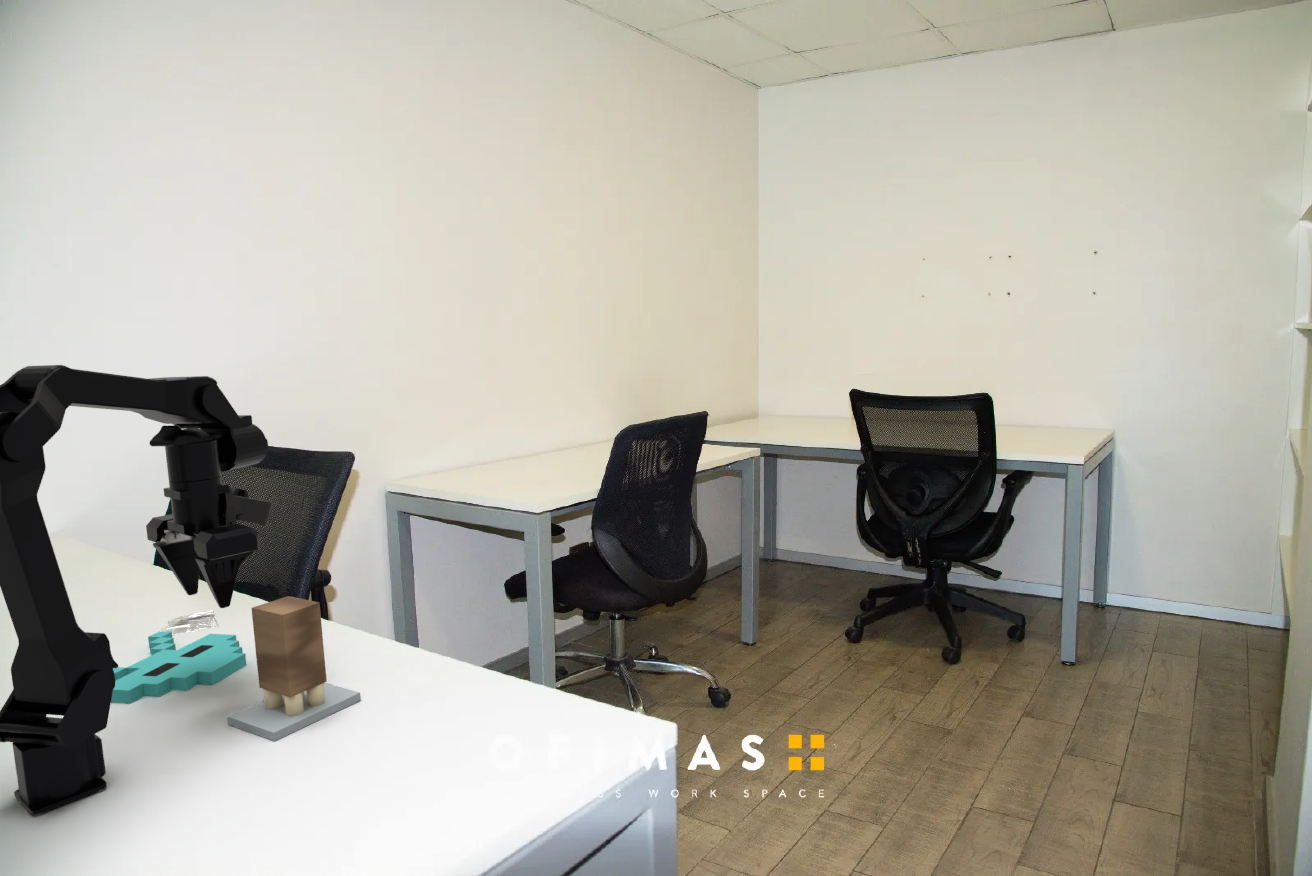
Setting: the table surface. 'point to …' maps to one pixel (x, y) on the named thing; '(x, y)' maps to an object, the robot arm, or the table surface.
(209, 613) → the crumpled silver wrapper
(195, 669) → the alien figure
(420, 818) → the table surface
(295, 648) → the walnut block
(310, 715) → the peg stand
